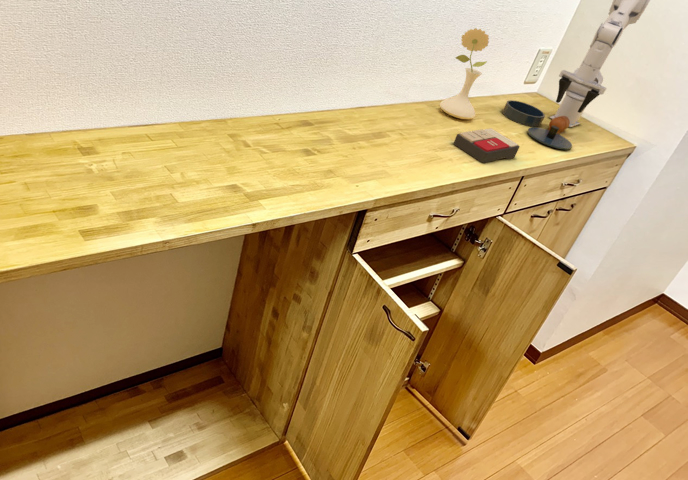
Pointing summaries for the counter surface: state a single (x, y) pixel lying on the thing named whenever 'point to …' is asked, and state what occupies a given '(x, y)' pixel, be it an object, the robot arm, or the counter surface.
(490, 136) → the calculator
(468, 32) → the flower in vase
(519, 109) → the pot
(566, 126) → the orange capsule
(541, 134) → the pot lid
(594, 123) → the counter surface
